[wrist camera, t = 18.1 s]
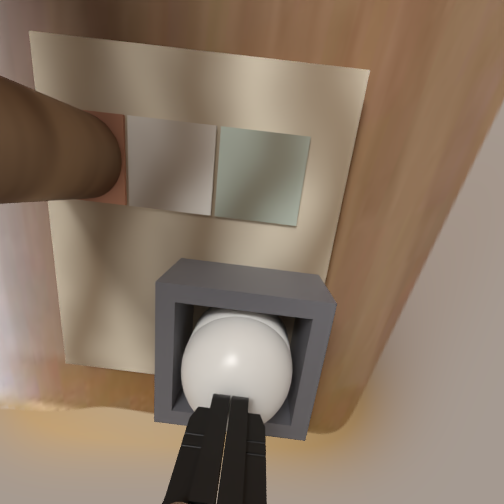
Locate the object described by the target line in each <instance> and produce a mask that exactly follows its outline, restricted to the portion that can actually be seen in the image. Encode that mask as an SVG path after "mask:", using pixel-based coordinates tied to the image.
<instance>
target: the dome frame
mask: <svg viewBox="0 0 504 504" xmlns="http://www.w3.org/2000/svg"><path fill="white" fill-rule="evenodd" d="M194 305H201V306H209V307H217V308H225V309H233V310H241V311H249V312H257V313H265V314H273V315H282V316H290V317H295V321H294V327H293V332H292V338H291V343H290V352H291V358H292V380H291V385H290V389H289V392H288V395H287V397H286V399H285V401H284V403H283V405H282V406H281V408H280V409H279V410H278V411H277V413H276V414H275V415H274V416H273V417H272V418H271V419H270V420H268V421H267V422H266V423H264V425H265V436H272V437H280V438H288V439H295V440H303V441H305V439H306V435H307V431H308V426H309V422H310V418H311V413H312V409H313V405H314V401H315V396H316V392H317V388H318V383H319V379H320V375H321V370H322V366H323V362H324V358H325V353H326V349H327V345H328V340H329V336H330V332H331V327H332V323H333V319H334V315H335V310H336V306H337V303H336V302H335V300H334V298H333V297H332V295H331V294H330V292H329V290H328V289H327V287H326V286H325V284H324V282H323V281H322V279H321V277H320V276H319V275H317V274H309V273H301V272H292V271H284V270H276V269H268V268H260V267H252V266H243V265H235V264H227V263H219V262H211V261H202V260H194V259H186V258H181V259H179V260H178V261H177V262H176V263H175V264H174V265H173V266H172V267H171V268H170V269H169V270H168V271H166V272H165V273H164V274H163V275H162V276H161V277H160V278H159V279H158V280H157V281H156V282H155V400H154V421H155V422H162V423H169V424H177V425H186V426H187V424H188V421H189V418H190V416H191V415H192V414H193V413H194V411H193V409H192V408H191V406H190V405H189V403H188V401H187V399H186V396H185V394H184V391H183V386H182V381H181V365H182V358H183V354H184V351H185V348H186V346H187V343H188V341H189V339H190V337H191V335H192V331H193V313H194Z"/></svg>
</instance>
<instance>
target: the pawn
mask: <svg viewBox="0 0 504 504" xmlns="http://www.w3.org/2000/svg"><path fill="white" fill-rule="evenodd" d="M121 165H122V159H121V152H120V148H119V145H118V142H117V140H116V138H115V136H114V134H113V133H112V131H111V130H110V129H109V127H108V126H107V125H106V124H105V123H104V122H103V121H101V120H100V119H99V118H97V117H96V116H94V115H92V114H90V113H88V112H85V111H83V110H81V109H78V108H76V107H73V106H71V105H69V104H66V103H64V102H62V101H59V100H57V99H54V98H52V97H50V96H47V95H45V94H43V93H40V92H38V91H35V90H33V89H31V88H28V87H26V86H24V85H21V84H19V83H16V82H14V81H12V80H9V79H7V78H5V77H2V76H0V204H3V203H20V202H37V201H54V200H71V199H89V198H96V197H100V196H102V195H104V194H106V193H107V192H109V191H110V190H111V189H112V188H113V187H114V185H115V184H116V182H117V180H118V178H119V176H120V172H121Z"/></svg>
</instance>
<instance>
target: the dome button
mask: <svg viewBox="0 0 504 504" xmlns="http://www.w3.org/2000/svg"><path fill="white" fill-rule="evenodd" d="M291 380H292V358H291V352H290V346H289V340H288V334H287V331H286V328H285V326H284V324H283V322H282V320H281V319H280V318H279V316H278V315H273V314H265V313H257V312H249V311H241V310H233V309H225V308H217V307H210V308H209V309H208V310H207V311H205V312H204V314H203V315H202V316H201V317H200V319H199V320H198V322H197V324H196V326H195V328H194V331H193V333H192V335H191V337H190V339H189V341H188V343H187V346H186V348H185V351H184V354H183V358H182V365H181V381H182V386H183V391H184V394H185V396H186V399H187V401H188V403H189V405H190V406H191V408H192V409H193V411H195V410H196V409H197V407H206V408H210V406H211V401H212V397H213V394H214V393H215V394H223V395H230V403H229V411H228V419H227V427H228V420H229V413H230V406H231V398H232V396H239V397H247V398H249V404H248V413H253V414H260V416H261V418H262V421H263V423H266V422H267V421H268V420H270V419H271V418H272V417H273V416H274V415H275V414H276V413H277V411H278V410H279V409H280V408H281V406H282V405H283V403H284V401H285V399H286V397H287V395H288V392H289V389H290V385H291ZM227 427H226V432H227Z"/></svg>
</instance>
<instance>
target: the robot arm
mask: <svg viewBox="0 0 504 504" xmlns="http://www.w3.org/2000/svg"><path fill="white" fill-rule="evenodd" d="M229 403H230V395H223V394H215V393H214V394H213V397H212V401H211V406H210V408H206V407H197V409H196V410H195V411H194V413H193V414H192V415H191V416H190V418H189V421H188V424H187V427H186V431H185V435H184V437H183V441H182V444H181V447H180V450H179V454H178V457H177V460H176V464H175V467H174V470H173V473H172V476H171V480H170V483H169V486H168V490H167V493H166V496H165V498H164V501H163V503H162V504H216V498H217V491H218V484H219V477H220V470H221V463H222V456H223V449H224V442H225V434H226V427H227V419H228V411H229ZM248 404H249V398H247V397H239V396H232V398H231V406H230V413H229V420H228V427H227V435H226V442H225V449H224V456H223V463H222V470H221V479H220V485H219V493H218V500H217V504H267V503H266V457H265V456H266V446H265V425H264V423H263V421H262V418H261V416H260V414H253V413H248Z"/></svg>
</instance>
